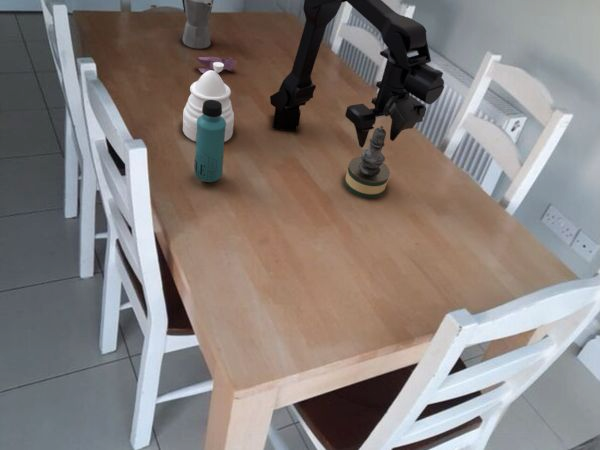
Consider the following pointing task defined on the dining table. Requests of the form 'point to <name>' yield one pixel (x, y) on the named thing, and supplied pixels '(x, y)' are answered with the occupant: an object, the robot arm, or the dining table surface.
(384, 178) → the tin
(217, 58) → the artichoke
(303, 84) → the robot arm
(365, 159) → the grey stone figurine
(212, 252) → the dining table surface
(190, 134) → the honey pot
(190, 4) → the coffeepot
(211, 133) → the beverage bottle
